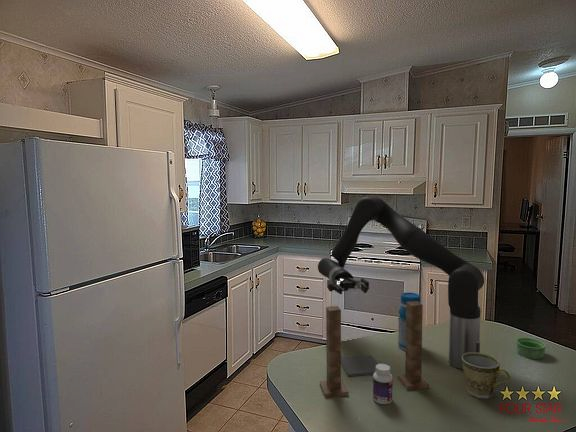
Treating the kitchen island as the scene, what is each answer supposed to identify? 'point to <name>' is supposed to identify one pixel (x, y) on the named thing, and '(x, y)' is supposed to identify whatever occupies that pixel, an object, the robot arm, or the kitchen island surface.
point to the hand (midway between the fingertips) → (353, 290)
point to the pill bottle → (382, 384)
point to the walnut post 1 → (333, 355)
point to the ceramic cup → (481, 374)
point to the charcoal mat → (359, 365)
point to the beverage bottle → (402, 317)
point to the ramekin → (530, 348)
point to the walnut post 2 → (413, 348)
